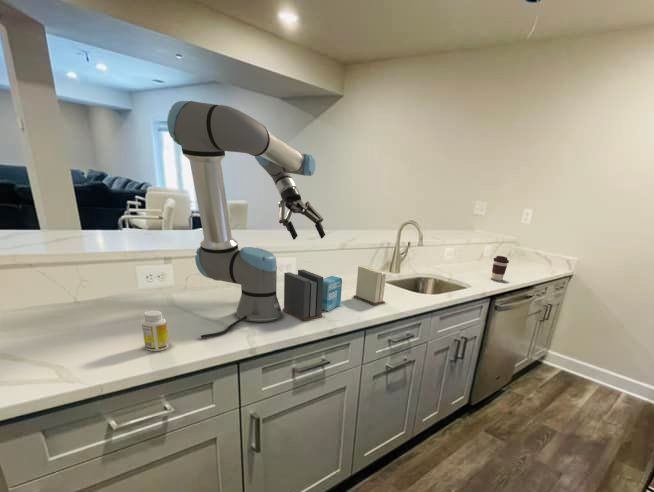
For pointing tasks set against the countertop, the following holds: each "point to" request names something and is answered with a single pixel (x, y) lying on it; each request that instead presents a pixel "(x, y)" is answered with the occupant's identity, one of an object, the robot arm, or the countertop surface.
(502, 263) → the coffee cup
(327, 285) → the blue box
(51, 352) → the countertop surface
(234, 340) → the countertop surface
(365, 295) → the cream books
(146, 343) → the supplement bottle
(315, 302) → the grey books
